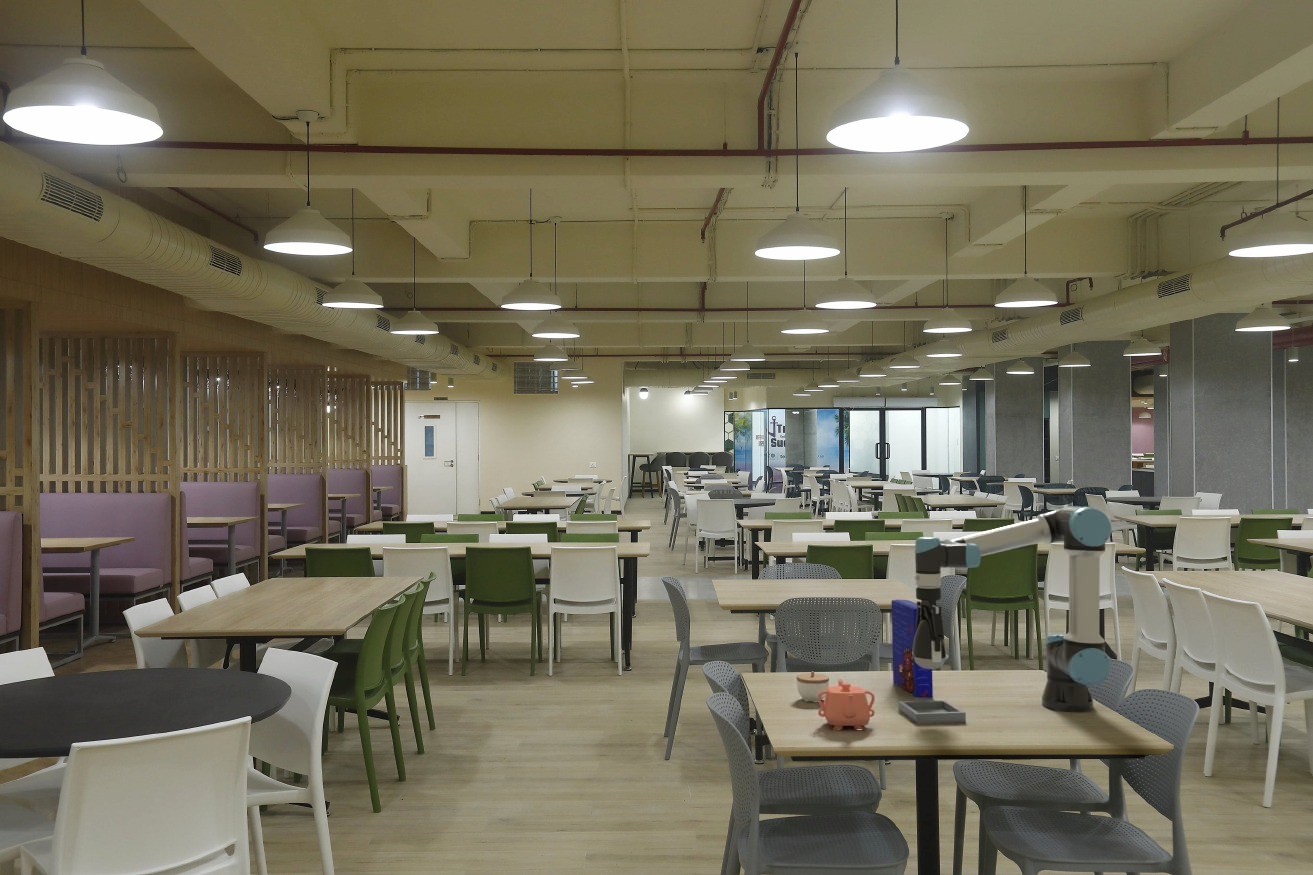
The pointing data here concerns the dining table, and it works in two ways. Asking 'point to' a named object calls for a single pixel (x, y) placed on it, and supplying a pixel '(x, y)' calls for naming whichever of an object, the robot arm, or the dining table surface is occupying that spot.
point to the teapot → (846, 705)
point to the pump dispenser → (926, 647)
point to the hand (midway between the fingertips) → (929, 658)
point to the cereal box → (908, 651)
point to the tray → (932, 712)
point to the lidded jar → (812, 685)
